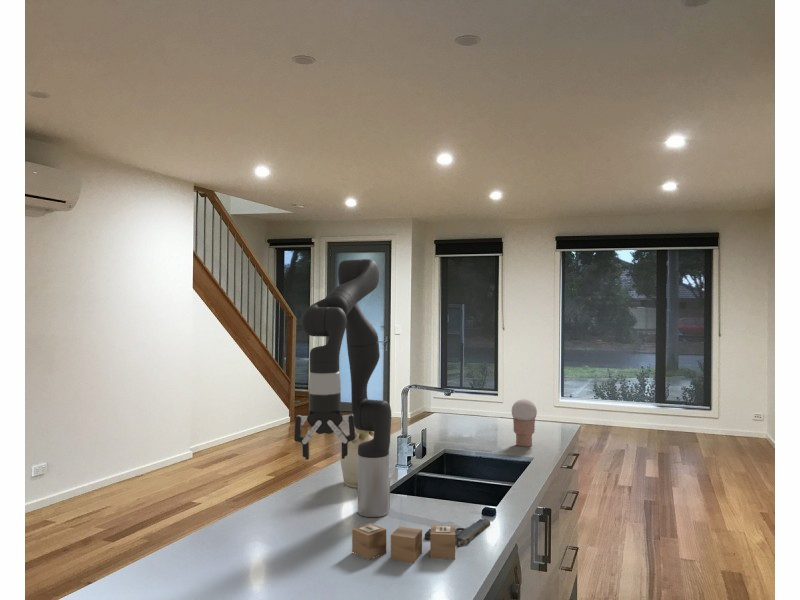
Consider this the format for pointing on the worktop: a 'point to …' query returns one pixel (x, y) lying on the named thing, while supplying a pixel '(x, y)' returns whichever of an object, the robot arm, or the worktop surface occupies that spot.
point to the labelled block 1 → (369, 540)
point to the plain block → (406, 544)
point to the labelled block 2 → (442, 542)
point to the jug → (353, 458)
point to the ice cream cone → (524, 421)
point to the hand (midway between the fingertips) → (325, 458)
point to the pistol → (467, 532)
